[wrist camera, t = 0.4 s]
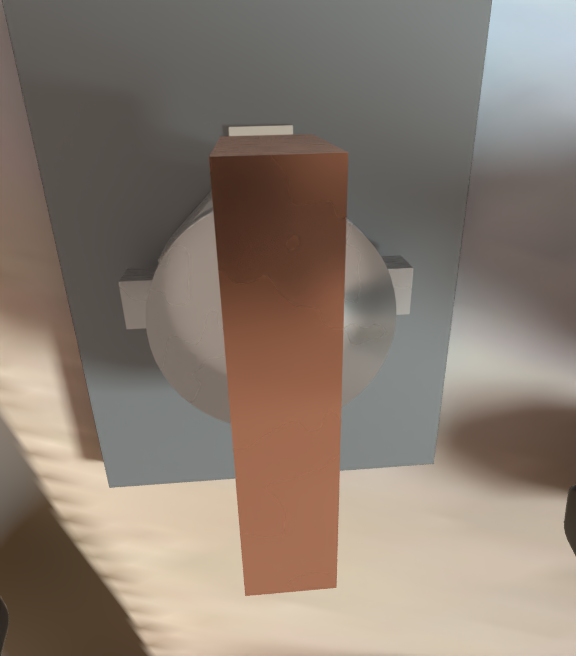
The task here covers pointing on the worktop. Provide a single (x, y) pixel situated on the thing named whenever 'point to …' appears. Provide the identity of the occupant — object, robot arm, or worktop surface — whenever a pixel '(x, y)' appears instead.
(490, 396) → the worktop surface
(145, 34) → the post plate
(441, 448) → the worktop surface
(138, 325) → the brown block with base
